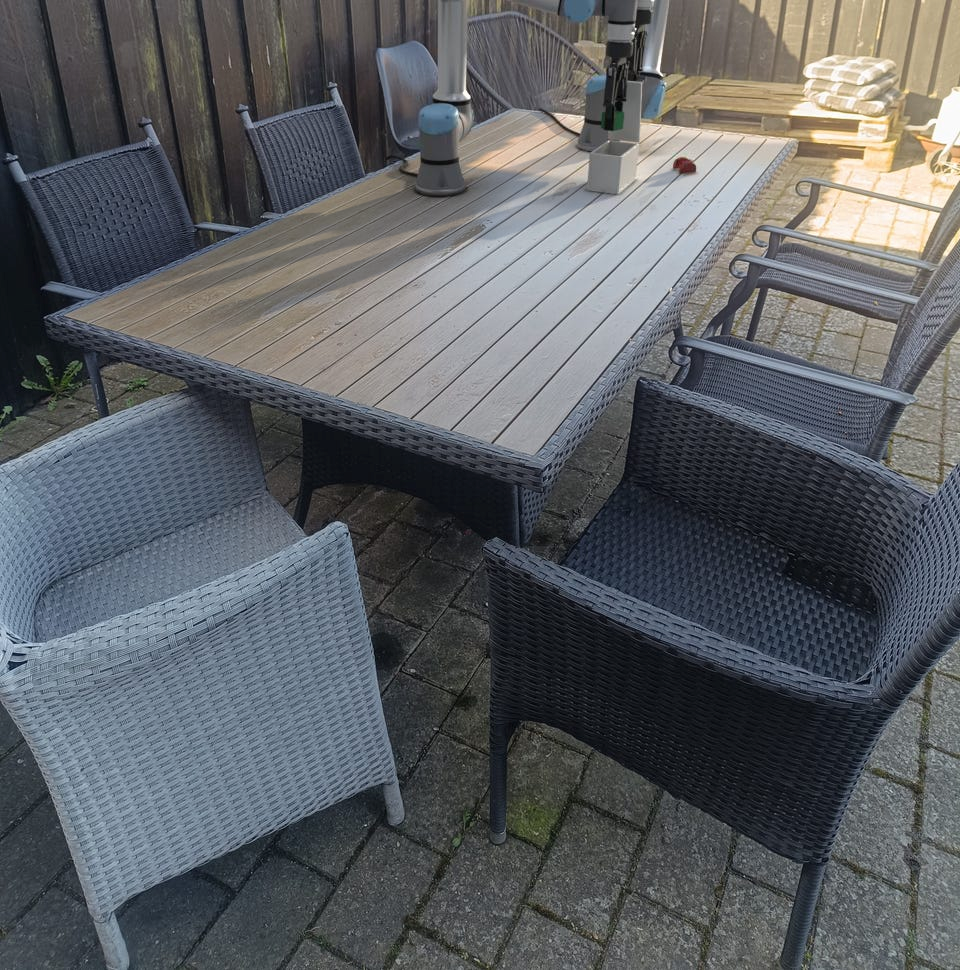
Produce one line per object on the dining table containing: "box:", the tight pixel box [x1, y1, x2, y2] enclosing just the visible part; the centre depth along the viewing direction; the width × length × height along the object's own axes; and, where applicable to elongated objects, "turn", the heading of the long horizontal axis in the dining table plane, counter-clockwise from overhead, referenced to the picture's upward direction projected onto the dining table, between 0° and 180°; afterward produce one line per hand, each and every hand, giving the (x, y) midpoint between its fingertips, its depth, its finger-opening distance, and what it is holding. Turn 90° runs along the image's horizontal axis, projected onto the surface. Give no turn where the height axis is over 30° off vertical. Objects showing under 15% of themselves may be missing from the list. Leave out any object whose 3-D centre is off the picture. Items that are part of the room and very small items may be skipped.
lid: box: [608, 75, 647, 144], centre depth 258 cm, size 18×10×9 cm
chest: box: [586, 140, 640, 195], centre depth 259 cm, size 17×10×11 cm, turn 154°
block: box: [601, 110, 624, 131], centre depth 248 cm, size 5×5×5 cm
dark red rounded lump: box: [672, 156, 697, 174], centre depth 274 cm, size 6×4×8 cm
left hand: (612, 127), depth 249 cm, fingers closed on block, 6 cm apart
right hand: (631, 95), depth 258 cm, fingers closed on lid, 2 cm apart
